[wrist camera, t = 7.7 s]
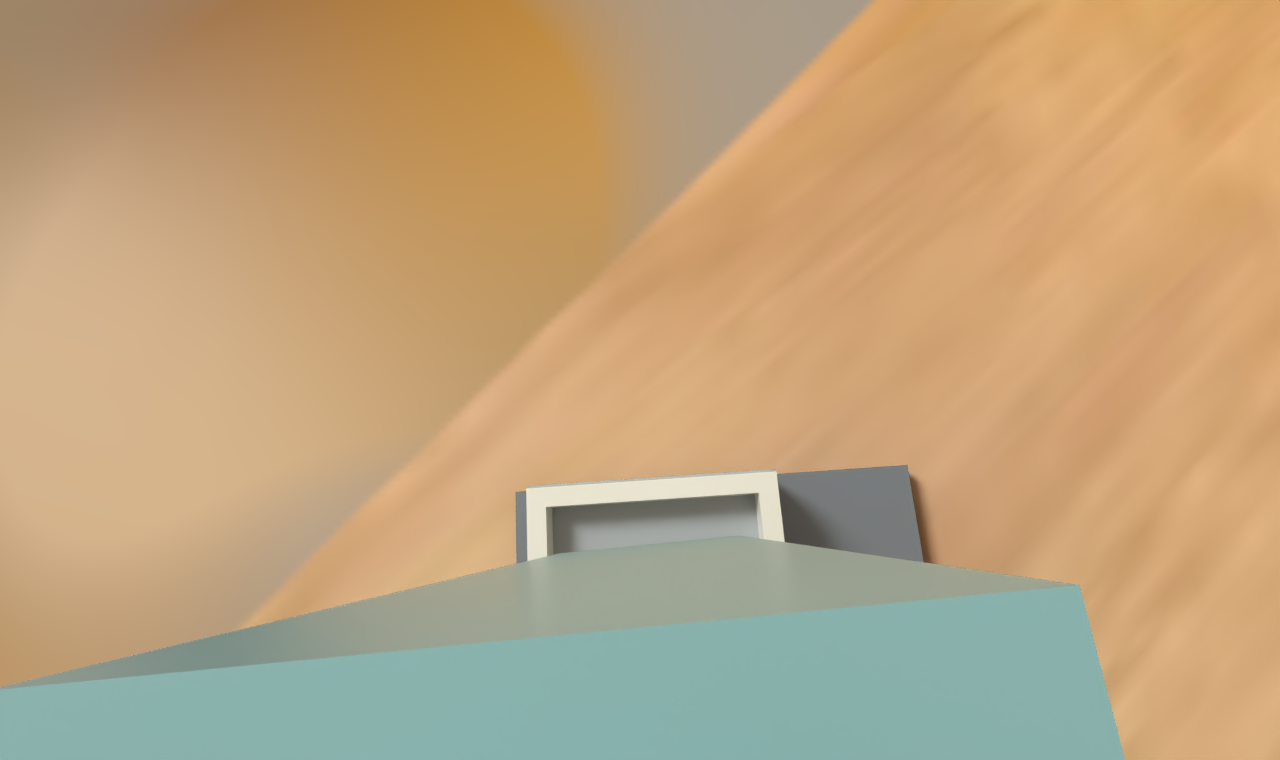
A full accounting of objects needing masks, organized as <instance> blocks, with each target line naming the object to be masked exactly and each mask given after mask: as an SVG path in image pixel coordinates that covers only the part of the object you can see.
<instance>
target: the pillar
mask: <svg viewBox="0 0 1280 760" xmlns="http://www.w3.org/2000/svg"><path fill="white" fill-rule="evenodd" d="M0 760H1125V758H1124V754H1123V750H1122V746H1121V743H1120V739H1119V735H1118V731H1117V727H1116V723H1115V720H1114V716H1113V712H1112V708H1111V704H1110V700H1109V696H1108V693H1107V689H1106V685H1105V681H1104V677H1103V673H1102V670H1101V666H1100V662H1099V658H1098V654H1097V650H1096V647H1095V643H1094V639H1093V635H1092V631H1091V627H1090V624H1089V620H1088V616H1087V612H1086V608H1085V604H1084V601H1083V597H1082V593H1081V589H1080V585H1075V584H1069V583H1062V582H1055V581H1048V580H1041V579H1034V578H1027V577H1020V576H1014V575H1007V574H1000V573H993V572H986V571H979V570H972V569H966V568H959V567H952V566H945V565H938V564H931V563H924V562H917V561H911V560H904V559H897V558H890V557H883V556H876V555H869V554H863V553H856V552H849V551H842V550H835V549H828V548H821V547H814V546H808V545H801V544H794V543H787V542H780V541H773V540H766V539H760V538H753V537H746V536H739V535H737V536H727V537H717V538H707V539H697V540H687V541H677V542H667V543H657V544H647V545H637V546H628V547H618V548H608V549H598V550H588V551H578V552H568V553H559V554H555V555H550V556H546V557H542V558H538V559H534V560H530V561H525V562H521V563H517V564H513V565H509V566H504V567H500V568H496V569H492V570H488V571H484V572H479V573H475V574H471V575H467V576H463V577H459V578H454V579H450V580H446V581H442V582H438V583H433V584H429V585H425V586H421V587H417V588H413V589H408V590H404V591H400V592H396V593H392V594H388V595H383V596H379V597H375V598H371V599H367V600H362V601H358V602H354V603H350V604H346V605H342V606H337V607H333V608H329V609H325V610H321V611H317V612H312V613H308V614H304V615H300V616H296V617H291V618H287V619H283V620H279V621H275V622H271V623H266V624H262V625H258V626H254V627H250V628H246V629H241V630H237V631H233V632H229V633H225V634H221V635H216V636H212V637H208V638H204V639H200V640H195V641H191V642H187V643H183V644H179V645H175V646H171V647H166V648H162V649H158V650H154V651H149V652H145V653H141V654H137V655H133V656H129V657H124V658H120V659H116V660H112V661H108V662H104V663H99V664H95V665H91V666H87V667H83V668H78V669H74V670H70V671H66V672H62V673H58V674H53V675H49V676H45V677H41V678H37V679H33V680H28V681H24V682H20V683H16V684H12V685H8V686H3V687H0Z"/></svg>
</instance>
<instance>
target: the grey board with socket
mask: <svg viewBox="0 0 1280 760" xmlns="http://www.w3.org/2000/svg"><path fill="white" fill-rule="evenodd" d="M737 535H739V536H746V537H753V538H760V539H766V540H773V541H780V542H787V543H794V544H801V545H808V546H814V547H821V548H828V549H835V550H842V551H849V552H856V553H863V554H869V555H876V556H883V557H890V558H897V559H904V560H911V561H917V562H924V561H923V555H922V549H921V543H920V537H919V531H918V525H917V519H916V513H915V508H914V502H913V496H912V490H911V484H910V478H909V472H908V466H907V465H902V466H888V467H873V468H859V469H844V470H829V471H815V472H800V473H785V474H777V472H776V470H775V469H770V470H755V471H741V472H726V473H711V474H697V475H682V476H668V477H653V478H639V479H624V480H610V481H595V482H580V483H566V484H551V485H537V486H529V488H526V491H522V492H516V553H517V563H521V562H525V561H530V560H534V559H538V558H542V557H546V556H550V555H555V554H559V553H568V552H578V551H588V550H598V549H608V548H618V547H628V546H637V545H647V544H657V543H667V542H677V541H687V540H697V539H707V538H717V537H727V536H737Z"/></svg>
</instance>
